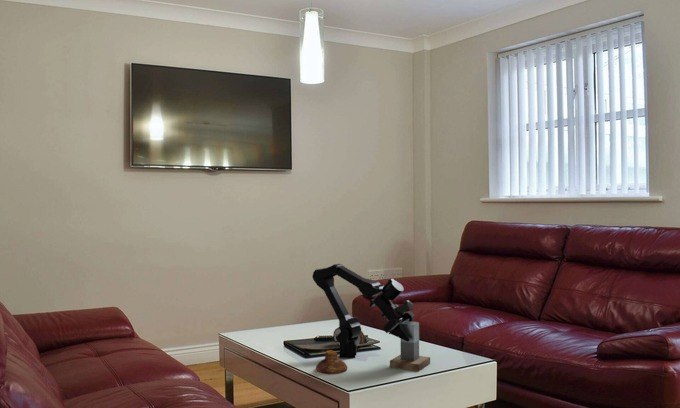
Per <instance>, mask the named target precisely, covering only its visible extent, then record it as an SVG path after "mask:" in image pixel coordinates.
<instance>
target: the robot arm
mask: <svg viewBox="0 0 680 408" xmlns="http://www.w3.org/2000/svg"><path fill="white" fill-rule="evenodd" d="M335 276H338V277H340V278H341V279H343V280H345V281H346V282H347V283H349V284H351V285H353V286H355V287H356V288H357V289H358V290H359V292H360V293H361V294H362V295H363V296H365V297H366V298H370V300H369V307H370V308H373V307H376V308H377V309H378V311H380V313H381V314H382V315H381V316H382V318H385V319H386V320H387V322H386V323H385V324H384V325H383V332H385V333H386V334H389V335H393V336H395V337H397V338H399V339H400V340H401V339H403V340H405V341H407V342H408V341H410V339H409V338H408V336H407V335H406V333H405V332H404V330H403V329H402V323H403V322H405V321H411V322H414V319H415V317H414V316H415V314H414V312H412V311H413V310H414V303H413V302H412V301H410V300H409V299H408V300H404V301H403V304H401V305H399V304H397V303H395V304H394V303H393V302H392V301H396V299H397V298H398V297H399V296H401V294H402V293H403V292H404V290H405V288H404V286H403V285H402V283H400V282H398V281H397V280H395V279H394V278H389V280H388V281H387V282H386V283H385V285H384V284H381V283H380V282H379V281H377V280H373V279H370V278H365V277H363V276H361V275H359V274H357V273H356V272H354V271H352V270H351V269H350V268H347V267H345V266H344V265H343V264H341V263H336V264H335V263H334V264H332V265H331V266H328V267H323V268H316V269H314V271H313V273H312V276H311V277H312V280H313V281H314V283H315V284H316V286H317V287H318V288H320V289H321V290H322V291H323V292H324V294H325V296H326V298H327V300H328V302H329V304H330V306H331V308H332V309H333V311H334V313H335V315H336V317H337V319H338V321H339V322H338V324H339V325H338V327H339V329H340V331H341V332H340V333H339V334H338V335H337V336H336V340H337V342H339V343H340V345H339V354H338V355H339V359H340V358H343V359H345V358H346V359H347V358H352V359H353V358H356V356H357V348H358V347H357V344H355V340H358V337H359V335H360V333H361V331H362V324H361V323H360V322H359V319H358V317H357V316H354V317H352V316H351V314H350V313H349V311H348V310H347V308H346V306H345V304H344V302H343V300H342V298H341V296H340V293H339V292H338V290H337V288H336V287H335ZM372 297H374V298H372ZM371 298H372V299H371Z"/></svg>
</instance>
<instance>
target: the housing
mask: <svg viewBox="0 0 680 408" xmlns="http://www.w3.org/2000/svg"><path fill="white" fill-rule="evenodd" d="M402 329H403V330H404V332H405V333H406V335H407V336H408V338H409V339H410V341H408V342H407V341H405V340H403V339H401V338H400V355H401V360H407V361H415V360H417V359H419V356H420V322H418V321H413V322H411V321H405V322H403V323H402Z"/></svg>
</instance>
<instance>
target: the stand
mask: <svg viewBox="0 0 680 408" xmlns="http://www.w3.org/2000/svg"><path fill="white" fill-rule="evenodd" d="M429 365H431V356H423V355H419V359H417V360H415V361H407V360H401V354H399V355H397V356H395V357H394V358H392V359H391V360H389V368H393V369H399V368H400V369H401V370H407V369H408V370H409V371H416V372H420V371H422V370H423V369H424V368H426V367H427V366H429Z"/></svg>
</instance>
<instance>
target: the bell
mask: <svg viewBox="0 0 680 408" xmlns="http://www.w3.org/2000/svg"><path fill="white" fill-rule="evenodd" d="M315 371H316V372H318V373H320V374H325V375H335V374H336V375H338V374H342V373H344V372H346V371H348V365H347V363H346V362H344V361H343V360H341V359H340V358H338V352H336V351H334V350H326V351H325V353H324V359H322V360H320V361H319V362H318V363H317V364H316V366H315Z"/></svg>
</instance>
